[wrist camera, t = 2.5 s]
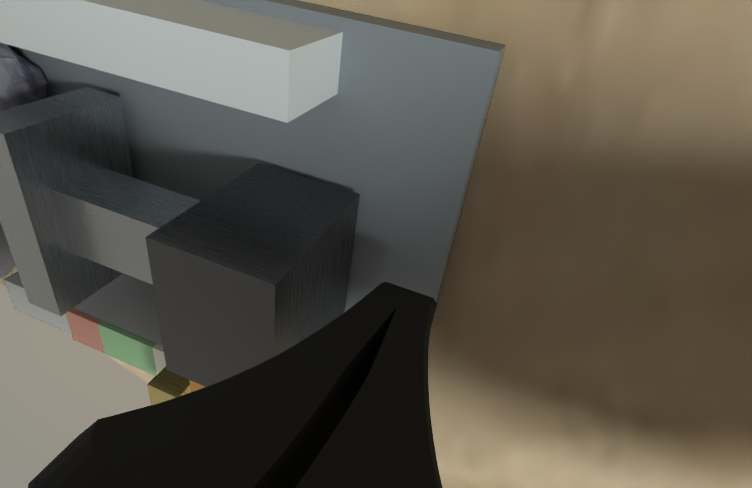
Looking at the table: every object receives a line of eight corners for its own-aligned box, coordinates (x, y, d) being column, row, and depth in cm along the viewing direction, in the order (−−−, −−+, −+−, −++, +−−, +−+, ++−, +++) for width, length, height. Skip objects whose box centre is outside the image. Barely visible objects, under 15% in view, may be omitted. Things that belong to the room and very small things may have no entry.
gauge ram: (363, 165, 12) (275, 250, 9) (339, 355, 16) (271, 464, 13) (89, 86, 14) (-69, 130, 11) (126, 271, 18) (18, 346, 15)
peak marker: (209, 362, 14) (177, 398, 13) (213, 401, 15) (183, 437, 14) (181, 350, 15) (147, 384, 13) (186, 389, 16) (155, 424, 14)
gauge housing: (505, 45, 11) (475, 79, 8) (410, 398, 17) (377, 480, 15) (-9, -66, 14) (-151, -68, 11) (79, 265, 21) (2, 313, 18)
